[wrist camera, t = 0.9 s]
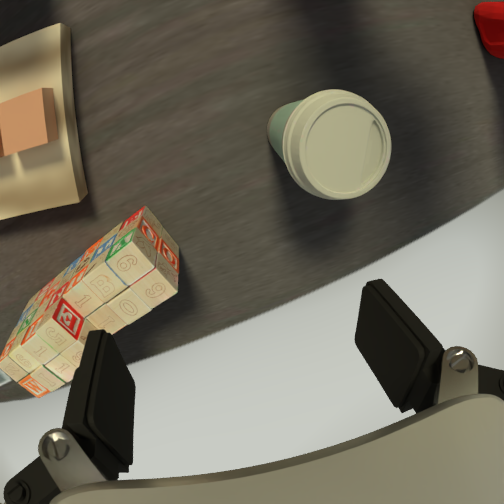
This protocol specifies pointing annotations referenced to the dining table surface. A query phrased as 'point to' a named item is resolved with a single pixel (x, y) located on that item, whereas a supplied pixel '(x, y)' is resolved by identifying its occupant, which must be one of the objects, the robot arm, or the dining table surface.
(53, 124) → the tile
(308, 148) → the coffee cup
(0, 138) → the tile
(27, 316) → the stack of blocks
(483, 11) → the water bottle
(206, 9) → the dining table surface
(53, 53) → the board
